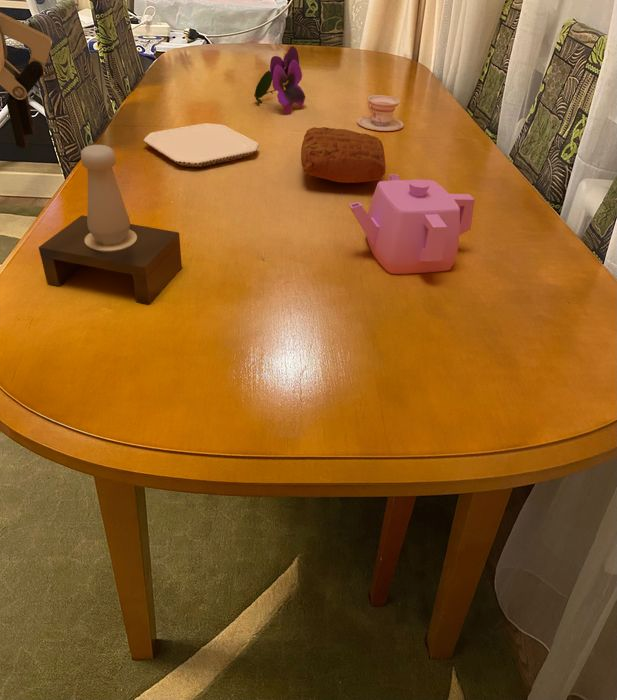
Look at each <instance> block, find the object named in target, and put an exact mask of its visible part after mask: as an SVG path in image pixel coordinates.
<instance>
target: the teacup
mask: <svg viewBox="0 0 617 700" xmlns="http://www.w3.org/2000/svg"><path fill="white" fill-rule="evenodd" d="M366 99H367V102H366V104H367V109H368V111H369V113H370V115H368V114H367V115H363V116H360V117H359V118H357V120H356V122H357V125H359V126H360V127H362V128H365V129H368V130H371V131H379V132H393V131H395V132H396V131H398V130H401V129H404V126H405V125H404V124H405V123H404V122H403V121H402V120H400V119H398V118H395V117H393V115H394V112H395V110H396V108H397V107H398V106H399V104H400V103H401V100H400V99H399V98H396V97H394V96H390V95H385V94H375V95H374V94H372V95H369V96H368V97H367V98H366Z"/></svg>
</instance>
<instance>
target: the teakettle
mask: <svg viewBox="0 0 617 700" xmlns="http://www.w3.org/2000/svg"><path fill="white" fill-rule="evenodd" d="M387 177H388V179H387V180H380V181H379V182H377V185H376V187H375V190H374V192H373V196H372V198H371V201H370V205H369V208H368V212H367V211H366V209H365V208H364V207H363V204H362V202H360V201H357V202H353V203H349V204H348V207H349V209H350V211H351V212H352V213H353V215H354V217H355V219H356V220H357V222H358V224H359V225H360V227H361V229H362V230H363V232H364V233H365V235H366V240H367V244H368V246H369V249H370V251H371V254H372V255H373V257H374V258H375V259H376V261H377V262H378V263H379V265H380V266H381V267H382V268H383V269H384V271H386V272H387V273H389V274H391V275H408V274H411V275H412V274H429V273H439V272H446V271H450V270H451V268H452V267H453V266H454V263H455V261H456V259H457V256H458V252H459V251H458V250H459V243H460V236H461V235H464V234H465V233H467V232H469V231H470V230H472V224H473V223H472V222H473V215H474V208H475V198H474V197H473V196H472V195H471V194H470V193H449V192H448V191H447V190H446V189H445V188H444V187H443V186H441V185H440V184H439V183H438V182H436V181H435V180H432V179H419V178H416V179H415V178H414V179H400V177H401V176H400V175H398V174H397V173H395V174H388V176H387Z"/></svg>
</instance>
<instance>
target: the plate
mask: <svg viewBox="0 0 617 700" xmlns="http://www.w3.org/2000/svg"><path fill="white" fill-rule="evenodd" d="M143 143H144V144H146V145H147V146H149V147H150V148H152V149H154V150H155V151H157V152H158V153H160V154H161V155H163V156H165V157H166V158H168V159H169V160H171V161H172V162H174V163H176V164H177V165H180V166H181V167H188V168H204V167H208V166H212V165H217V164H222V163H227V162H231V161H236V160H239V159H244V158H247V157H248V156H250V155H252V154H254V153H256V152H257V151H258V149H259V146H260V144H259V142H257V141H256V140H254V139H252V138H250V137H248V136H246V135H244V134H242V133H240V132H239V131H236V130H235V129H232V128H230V127H228V126H226V125H224V124H220V123H209V122H205V123H197V124H193V125H187V126H182V127H175V128H170V129H169V128H168V129H164V130H158V131H153V132H150V133H148V134H147V135H146V136H145V137H144V139H143Z"/></svg>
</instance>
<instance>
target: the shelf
mask: <svg viewBox="0 0 617 700" xmlns="http://www.w3.org/2000/svg"><path fill="white" fill-rule="evenodd" d="M181 250H182V249H181V237H180V232H178V231H173V230H168V229H163V228H156V227H150V226H145V225H140V224H139V225H138V224H134V223H130V228H129V231H128V234H127V237H126V239H125V240H123V241H122V242H121V243H119V244H112V245H104V244H101V243H99V242H96V240H95V239H94V237H93V236H92V234H91V233H90V231H89V229H88V226H87V215H80V216H78V217H77V218H76V219H74V220H73V221H72V222H71V223H69V224H68V225H66V226H65V227H64V228H62V229H61V230H60V231H58V232H57V233H55V234H54V235H53V236H51V237H50V238H49V239H47V240H46V241H44V243H42V244H41V245H40V246H38V251H39V256H40V259H41V263H42V264H41V265H42V269H43V272H44V276H45V280H46V284H47V285H49V286H54V287H59V288H60V287H61V286H62V285H64V284H65V283H66V282H67V281H68V280H69V279H70V278H72V277H73V276H74V275H75V274H76V273H78V271H79V270H81V269H82V268H83V267H84V266H87V267H90V268H91V267H93V268H97V269H103V270H107V271H112V272H117V273H118V272H119V273H123V274H128V275H132V280H133V287H134V295H135V302H136V303H138V304H142V305H143V304H144V305H148V306H150V305H151V304H152V303H153V301H154V300H155V299H157V298H158V296H159V295H160V294H161V292H162V291H163V290H164V289H165V288H166V287H167V285H168V284H169V283H170V282H171V281H172V280H173V279H174V278H175V277H176V276H177V275H178V273H179V272H180V271H181V270H182V268H183V262H182V252H181Z"/></svg>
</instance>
